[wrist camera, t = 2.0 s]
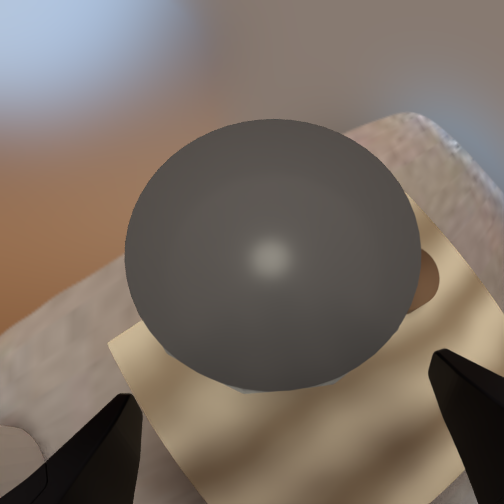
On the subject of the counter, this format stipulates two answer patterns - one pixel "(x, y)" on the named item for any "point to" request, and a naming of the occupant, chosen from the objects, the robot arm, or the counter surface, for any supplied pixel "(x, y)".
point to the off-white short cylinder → (17, 457)
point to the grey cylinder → (273, 255)
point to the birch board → (326, 408)
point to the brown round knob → (425, 282)
